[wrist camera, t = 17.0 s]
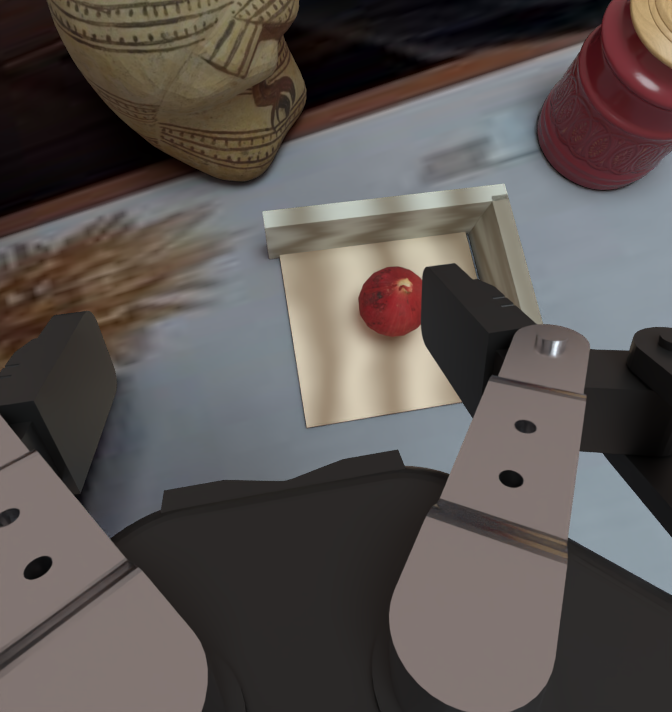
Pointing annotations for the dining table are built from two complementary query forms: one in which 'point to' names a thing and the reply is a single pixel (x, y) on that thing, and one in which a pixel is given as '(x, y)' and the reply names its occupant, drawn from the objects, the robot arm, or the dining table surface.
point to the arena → (357, 263)
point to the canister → (614, 99)
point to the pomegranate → (391, 301)
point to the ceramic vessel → (192, 74)
